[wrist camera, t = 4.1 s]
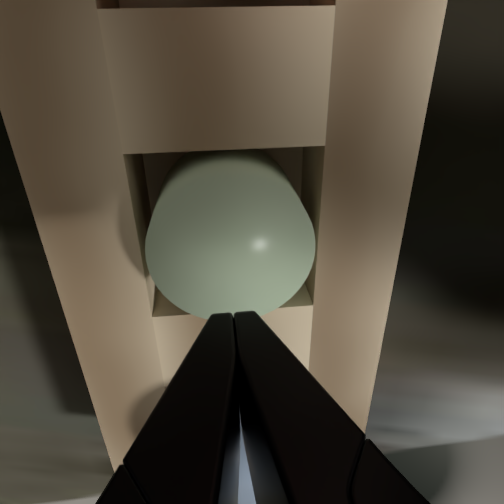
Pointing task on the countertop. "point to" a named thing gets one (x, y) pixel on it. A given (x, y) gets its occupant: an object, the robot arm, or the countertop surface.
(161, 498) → the robot arm
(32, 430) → the countertop surface
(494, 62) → the countertop surface
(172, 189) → the green button
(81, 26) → the button panel
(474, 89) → the countertop surface
